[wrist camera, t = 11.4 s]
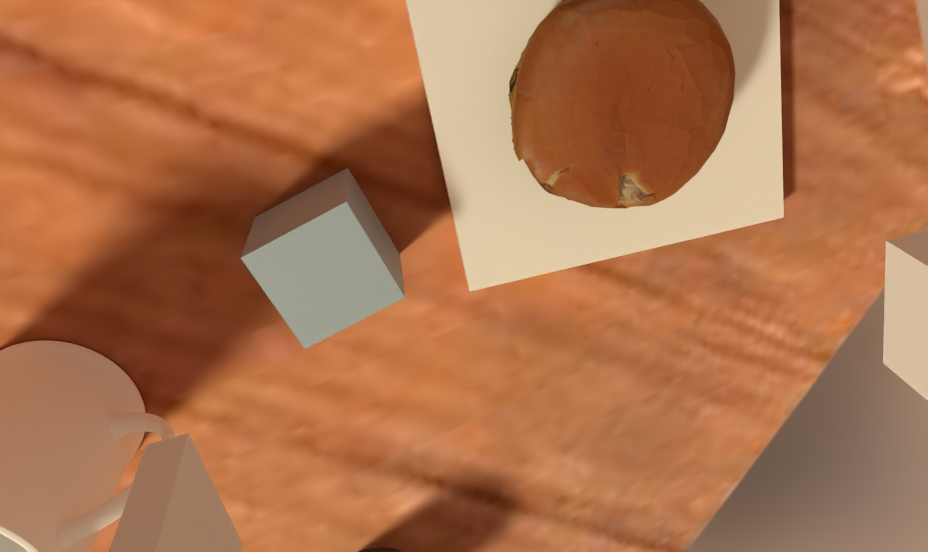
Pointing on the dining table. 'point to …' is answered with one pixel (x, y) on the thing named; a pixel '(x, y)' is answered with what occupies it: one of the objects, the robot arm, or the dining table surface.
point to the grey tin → (381, 550)
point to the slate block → (324, 259)
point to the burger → (621, 99)
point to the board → (555, 218)
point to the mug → (65, 444)
